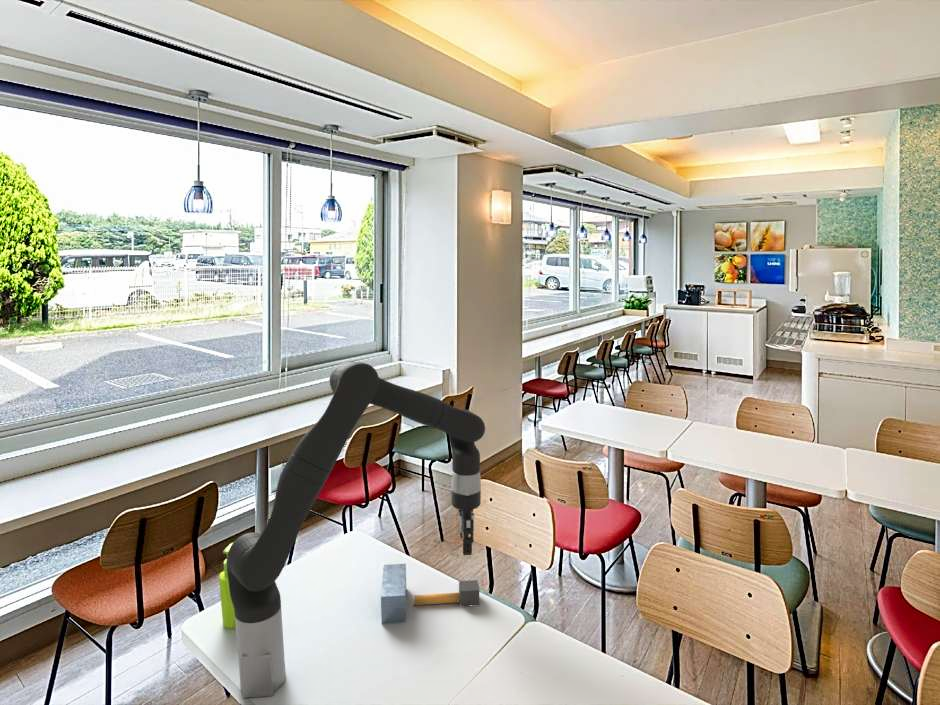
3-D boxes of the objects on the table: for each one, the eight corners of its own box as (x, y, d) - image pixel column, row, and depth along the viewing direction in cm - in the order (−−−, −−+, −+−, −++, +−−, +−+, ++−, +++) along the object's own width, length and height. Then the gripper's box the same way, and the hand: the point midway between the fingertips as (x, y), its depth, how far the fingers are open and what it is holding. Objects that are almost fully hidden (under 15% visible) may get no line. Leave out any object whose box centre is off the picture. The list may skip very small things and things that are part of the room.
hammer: (479, 605, 150) (479, 590, 149) (414, 609, 148) (414, 593, 147) (477, 595, 154) (477, 580, 153) (414, 599, 152) (413, 583, 152)
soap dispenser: (254, 612, 147) (248, 540, 143) (241, 629, 140) (235, 555, 137) (232, 610, 148) (226, 539, 144) (218, 628, 141) (211, 553, 137)
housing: (405, 622, 143) (405, 595, 142) (381, 623, 142) (380, 596, 141) (406, 588, 157) (405, 563, 156) (384, 589, 157) (383, 564, 155)
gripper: (449, 476, 152) (449, 533, 155) (453, 499, 138) (453, 561, 141) (477, 475, 153) (477, 532, 156) (484, 498, 139) (483, 559, 142)
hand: (465, 545), depth 148 cm, fingers open, 8 cm apart
